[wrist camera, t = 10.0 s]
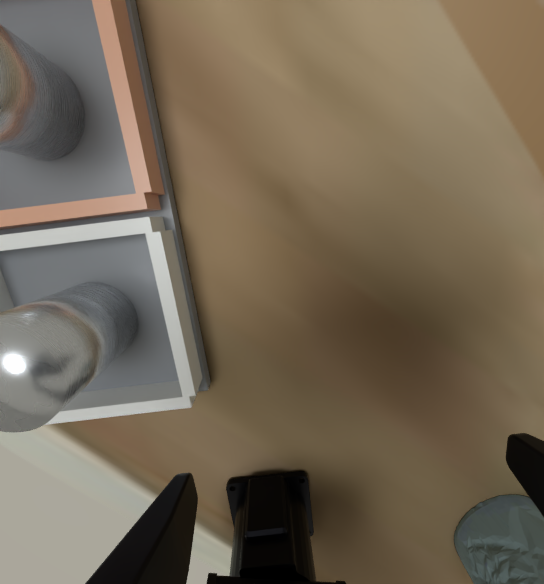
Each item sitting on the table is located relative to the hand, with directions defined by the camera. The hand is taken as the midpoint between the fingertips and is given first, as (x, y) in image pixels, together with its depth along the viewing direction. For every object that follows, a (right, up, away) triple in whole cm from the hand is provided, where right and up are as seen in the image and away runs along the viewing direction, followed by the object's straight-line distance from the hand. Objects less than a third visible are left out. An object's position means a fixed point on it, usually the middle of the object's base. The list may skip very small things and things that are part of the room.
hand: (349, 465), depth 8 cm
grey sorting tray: (-14, +9, +10) cm, 19 cm away
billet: (-13, +3, +10) cm, 17 cm away
